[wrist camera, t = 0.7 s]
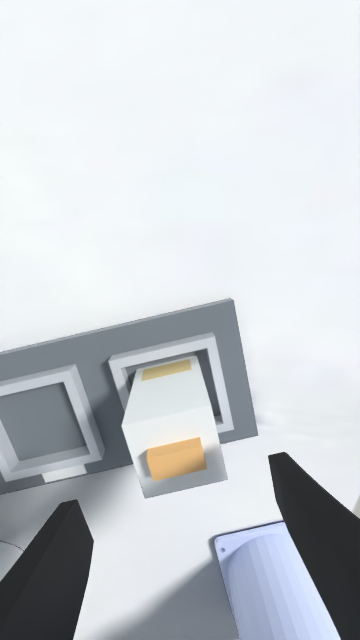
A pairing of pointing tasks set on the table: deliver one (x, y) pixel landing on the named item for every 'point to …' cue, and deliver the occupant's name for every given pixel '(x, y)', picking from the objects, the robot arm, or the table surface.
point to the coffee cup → (8, 557)
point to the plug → (172, 429)
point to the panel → (110, 391)
